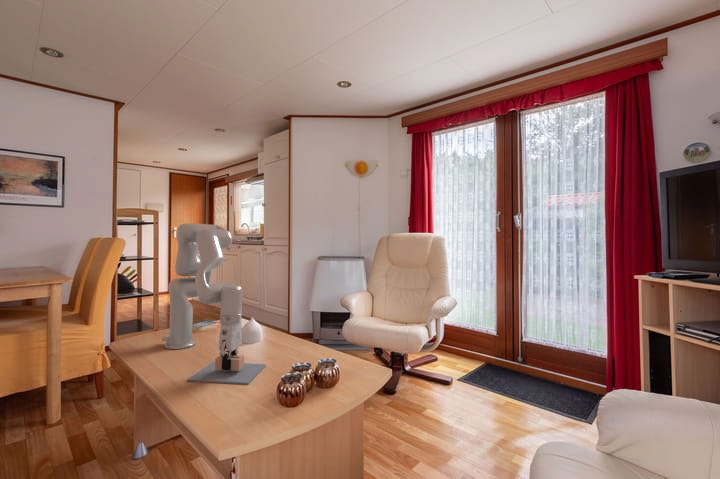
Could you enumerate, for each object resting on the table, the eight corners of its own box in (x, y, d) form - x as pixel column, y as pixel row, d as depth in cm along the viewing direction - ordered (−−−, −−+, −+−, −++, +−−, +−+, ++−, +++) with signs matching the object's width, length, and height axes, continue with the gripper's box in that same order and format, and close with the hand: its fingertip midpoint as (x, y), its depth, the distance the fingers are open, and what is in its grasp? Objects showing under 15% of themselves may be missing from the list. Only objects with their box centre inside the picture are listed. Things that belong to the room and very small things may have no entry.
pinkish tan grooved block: (238, 370, 124) (239, 359, 124) (215, 369, 125) (215, 358, 125) (243, 366, 128) (244, 355, 128) (220, 365, 129) (221, 354, 129)
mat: (187, 381, 118) (187, 379, 118) (212, 363, 136) (212, 361, 136) (248, 384, 117) (248, 382, 117) (266, 365, 135) (266, 364, 135)
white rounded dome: (237, 339, 170) (237, 315, 170) (258, 336, 177) (259, 313, 177) (243, 345, 161) (244, 319, 161) (266, 341, 168) (266, 317, 168)
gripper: (230, 324, 118) (228, 376, 118) (249, 314, 135) (247, 359, 135) (209, 323, 119) (208, 375, 118) (231, 313, 135) (229, 359, 135)
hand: (229, 366), depth 127 cm, fingers closed on pinkish tan grooved block, 4 cm apart
